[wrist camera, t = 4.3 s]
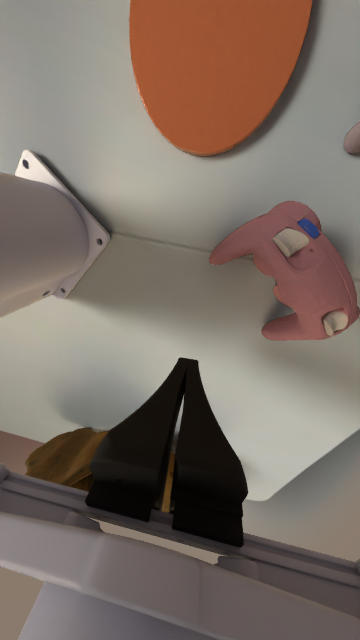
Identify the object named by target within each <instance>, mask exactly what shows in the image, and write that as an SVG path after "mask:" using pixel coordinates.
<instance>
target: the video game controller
mask: <svg viewBox="0 0 360 640" xmlns="http://www.w3.org/2000/svg"><path fill="white" fill-rule="evenodd" d="M249 254H254V256H253V261H254V264H255V265H256V267H257V268H258V269H259V270H260V271H261V272H262V273H264V274H265V275H267V276H273V277H274V278H275V280H276V283H277V285H276V286H275V287H274V288H273V292H274V295H275V296H276V298H277V299H278V300H279V301H280V302H282V303H283V304H285V305H287V306H289V307H291V308H292V309H293V310H294V311H295V313H293V314H291V315H287V316H284V317H280V318H277V319H275V320H273V321H270V322H269V323H267V324H266V325H264V326H263V328H262V330H261V332H262V335H263V336H264V337H265V338H267V339H270V340H278V341H284V340H323V339H326V338H329V337H332V336H334V335H336V334H339V333H341V332H342V331H344V330H345V329H347V328H348V327H349V326H350V325H351V324H352V323H354V322H355V321H356V320H357V319H358V318H359V315H360V310H359V308H358V306H357V294H356V290H355V286H354V283H353V280H352V277H351V275H350V272H349V270H348V268H347V267H346V265H345V263H344V261H343V259H342V258H341V256H340V255H339V253H338V252H337V250H336V249H335V247H334V246H333V244H332V243H331V242H330V241H329V240H328V239H327V238H326V237H325V235H324V234H323V233H322V232H321V224H320V220H319V219H318V217H317V215H316V214H315V212H314V211H312V210H311V209H310V208H309V207H308V206H307V205H305V204H302V203H300V202H296V201H286V202H282V203H280V204H278V205H276V206H275V207H274V208H273V209H272V210H270V211H269V212H268V213H267V214H264V215H261V216H259V217H257V218H255V219H253V220H251V221H249V222H247V223H245V224H244V225H242V226H241V227H239V228H237V229H236V230H235V231H234V232H232V233H231V234H230V235H229V236H228V237H226V238H225V239H224V240H223V241H222V242H221V243H220V244H218V245H217V246H216V247H215V249H214V250H213V251H212V253H211V255H210V257H209V262H210V263H211V264H213V265H219V264H224V263H226V262H228V261H231V260H233V259H236V258H238V257H241V256H245V255H249Z"/></svg>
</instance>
